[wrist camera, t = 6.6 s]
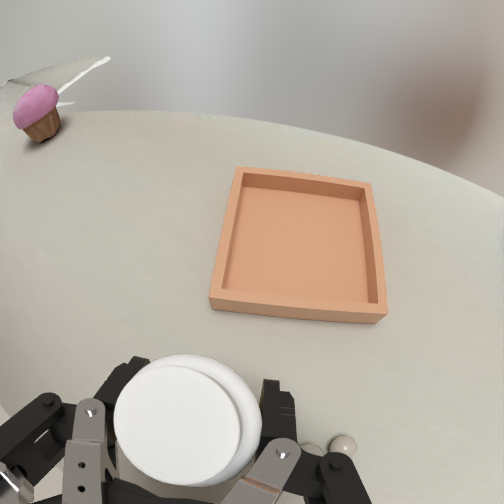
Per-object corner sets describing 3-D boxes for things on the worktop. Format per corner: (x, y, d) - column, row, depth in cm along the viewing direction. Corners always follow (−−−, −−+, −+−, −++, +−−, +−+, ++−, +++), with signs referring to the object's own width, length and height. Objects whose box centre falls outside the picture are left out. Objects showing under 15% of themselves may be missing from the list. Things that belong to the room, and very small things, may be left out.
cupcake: (72, 114, 40) (55, 70, 31) (66, 137, 36) (45, 88, 27) (33, 133, 38) (14, 93, 29) (24, 159, 34) (0, 115, 25)
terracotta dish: (212, 309, 23) (208, 297, 20) (236, 184, 29) (236, 166, 27) (374, 323, 22) (387, 313, 20) (363, 200, 29) (370, 183, 27)
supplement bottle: (232, 468, 14) (220, 534, 5) (153, 429, 15) (66, 444, 6) (268, 395, 16) (298, 386, 8) (190, 359, 17) (137, 309, 9)
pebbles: (283, 491, 15) (287, 502, 13) (291, 434, 18) (297, 438, 15) (346, 489, 15) (357, 498, 13) (353, 433, 17) (366, 436, 15)
